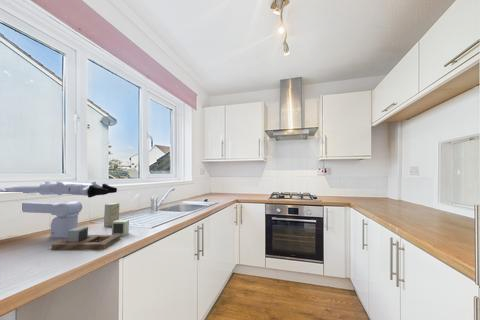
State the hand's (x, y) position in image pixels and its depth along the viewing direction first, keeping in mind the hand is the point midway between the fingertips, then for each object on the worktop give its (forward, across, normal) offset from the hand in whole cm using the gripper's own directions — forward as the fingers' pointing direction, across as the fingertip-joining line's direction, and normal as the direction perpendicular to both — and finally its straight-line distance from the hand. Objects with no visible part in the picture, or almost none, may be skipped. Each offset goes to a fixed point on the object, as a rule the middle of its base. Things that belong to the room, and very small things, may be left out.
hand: (112, 191), depth 99 cm
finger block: (+5, +1, +21) cm, 21 cm away
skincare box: (-9, +18, +22) cm, 29 cm away
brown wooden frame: (-1, -12, +21) cm, 24 cm away
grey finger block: (-5, -12, +21) cm, 25 cm away
